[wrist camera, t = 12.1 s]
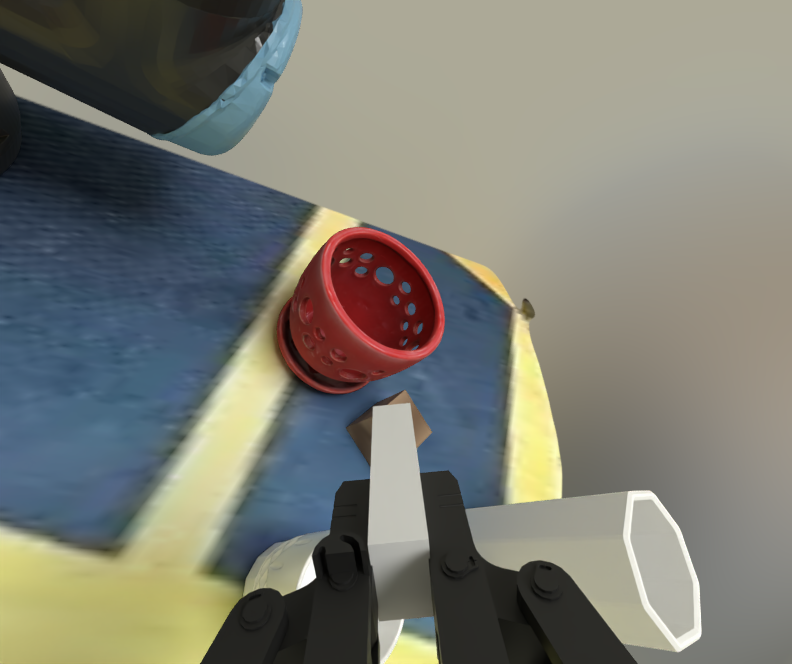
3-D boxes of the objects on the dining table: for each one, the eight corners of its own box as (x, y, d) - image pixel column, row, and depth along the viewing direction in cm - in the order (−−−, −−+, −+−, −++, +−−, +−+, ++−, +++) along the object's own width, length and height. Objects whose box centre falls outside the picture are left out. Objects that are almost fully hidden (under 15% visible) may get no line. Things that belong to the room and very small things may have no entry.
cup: (432, 534, 41) (608, 525, 28) (490, 489, 49) (649, 465, 36) (476, 649, 39) (689, 696, 26) (529, 582, 46) (713, 593, 34)
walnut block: (345, 428, 39) (374, 415, 36) (376, 402, 43) (405, 389, 40) (372, 470, 39) (403, 462, 36) (401, 441, 43) (432, 432, 40)
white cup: (301, 510, 34) (367, 499, 27) (346, 594, 33) (425, 605, 26) (213, 581, 28) (267, 590, 21) (266, 683, 28) (340, 727, 21)
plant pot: (393, 363, 47) (468, 322, 39) (314, 427, 37) (390, 391, 29) (331, 271, 46) (393, 210, 38) (235, 312, 37) (289, 242, 29)
